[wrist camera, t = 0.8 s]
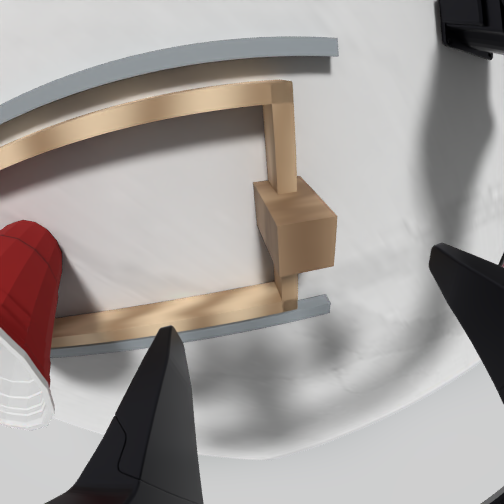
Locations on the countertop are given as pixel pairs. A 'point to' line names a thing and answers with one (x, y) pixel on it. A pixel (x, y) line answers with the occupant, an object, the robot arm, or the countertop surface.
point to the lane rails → (162, 62)
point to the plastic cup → (27, 323)
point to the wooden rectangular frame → (266, 202)
